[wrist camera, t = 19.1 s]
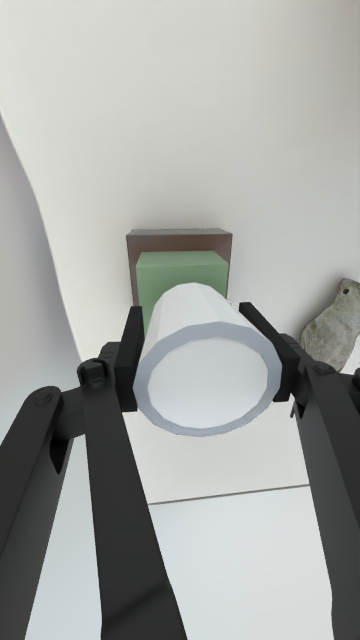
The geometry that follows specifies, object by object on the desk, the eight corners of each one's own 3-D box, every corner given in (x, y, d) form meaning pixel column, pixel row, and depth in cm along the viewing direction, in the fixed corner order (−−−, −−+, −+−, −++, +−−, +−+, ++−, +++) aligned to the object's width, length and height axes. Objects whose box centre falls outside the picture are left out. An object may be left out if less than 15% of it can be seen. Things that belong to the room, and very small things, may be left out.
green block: (141, 251, 22) (135, 265, 17) (213, 250, 22) (228, 263, 17) (146, 317, 25) (142, 345, 20) (209, 315, 25) (221, 341, 20)
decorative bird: (360, 283, 30) (416, 305, 24) (296, 374, 37) (326, 411, 30) (328, 271, 29) (376, 290, 23) (268, 367, 36) (292, 403, 29)
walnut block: (131, 229, 25) (125, 235, 21) (220, 228, 26) (232, 233, 22) (139, 311, 30) (136, 330, 25) (214, 308, 31) (224, 326, 26)
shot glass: (142, 357, 18) (133, 441, 12) (142, 270, 15) (130, 320, 8) (228, 358, 18) (263, 437, 12) (245, 275, 15) (304, 324, 9)
